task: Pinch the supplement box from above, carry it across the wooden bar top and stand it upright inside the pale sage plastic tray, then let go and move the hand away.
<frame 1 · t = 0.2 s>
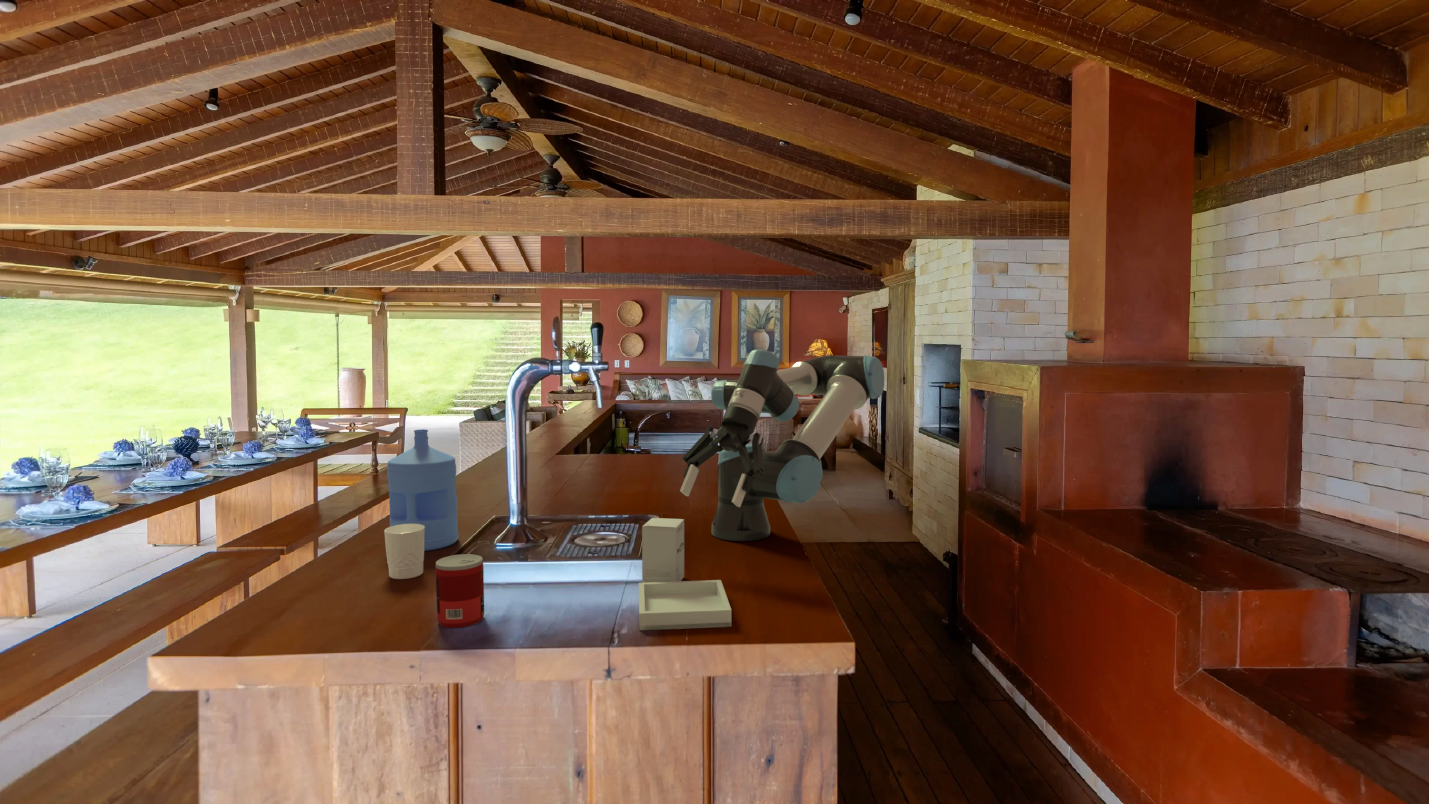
hand: (709, 499, 156), 16 cm above the table, tool tilted 35°, fingers open, 13 cm apart
water jug: (424, 544, 179), on the table
canned food: (461, 621, 130), on the table
sage tray: (682, 611, 134), on the table
white cup: (406, 575, 156), on the table
supplement box: (663, 582, 151), on the table
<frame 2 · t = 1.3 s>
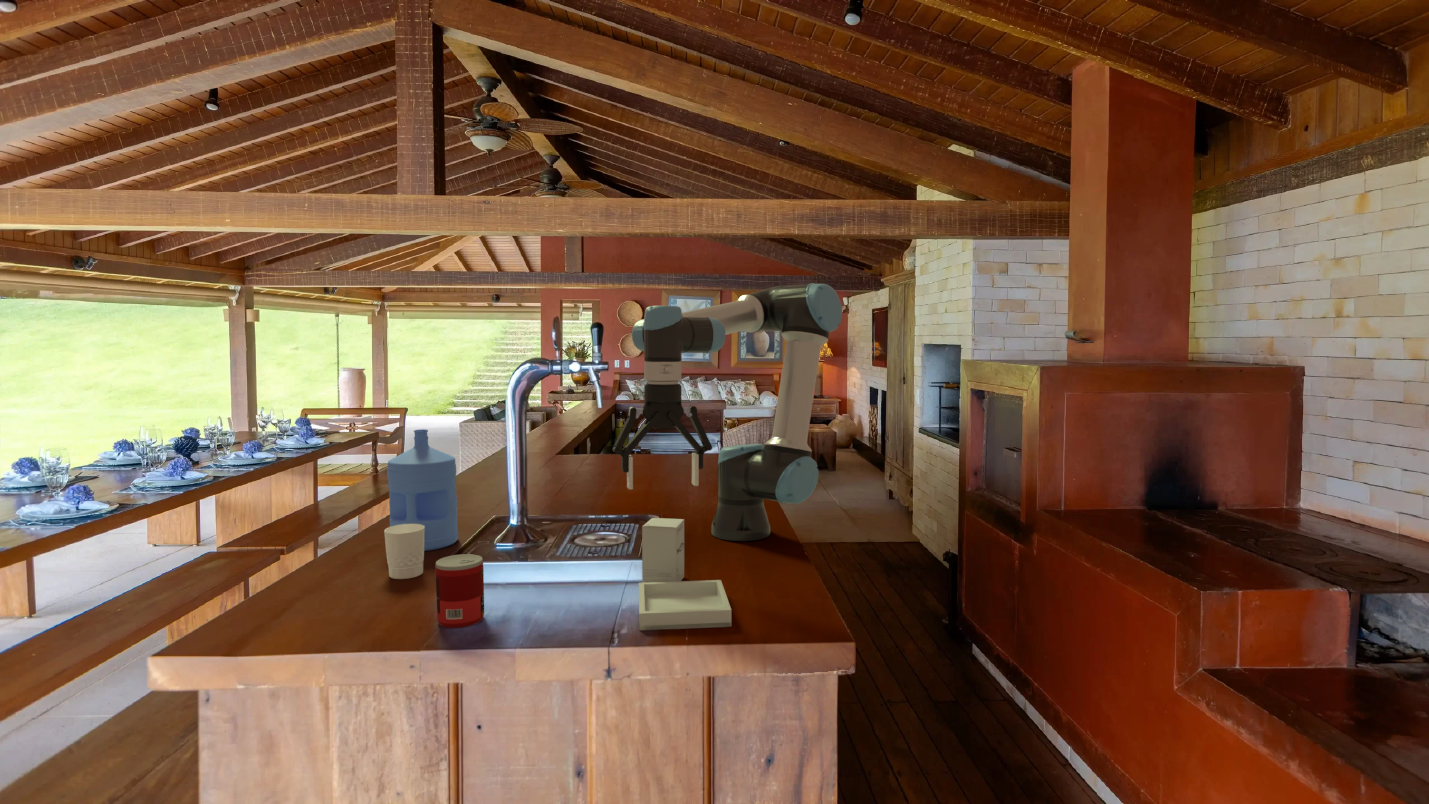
hand: (662, 486, 149), 20 cm above the table, tool pointing down, fingers open, 13 cm apart
nothing on the table moved.
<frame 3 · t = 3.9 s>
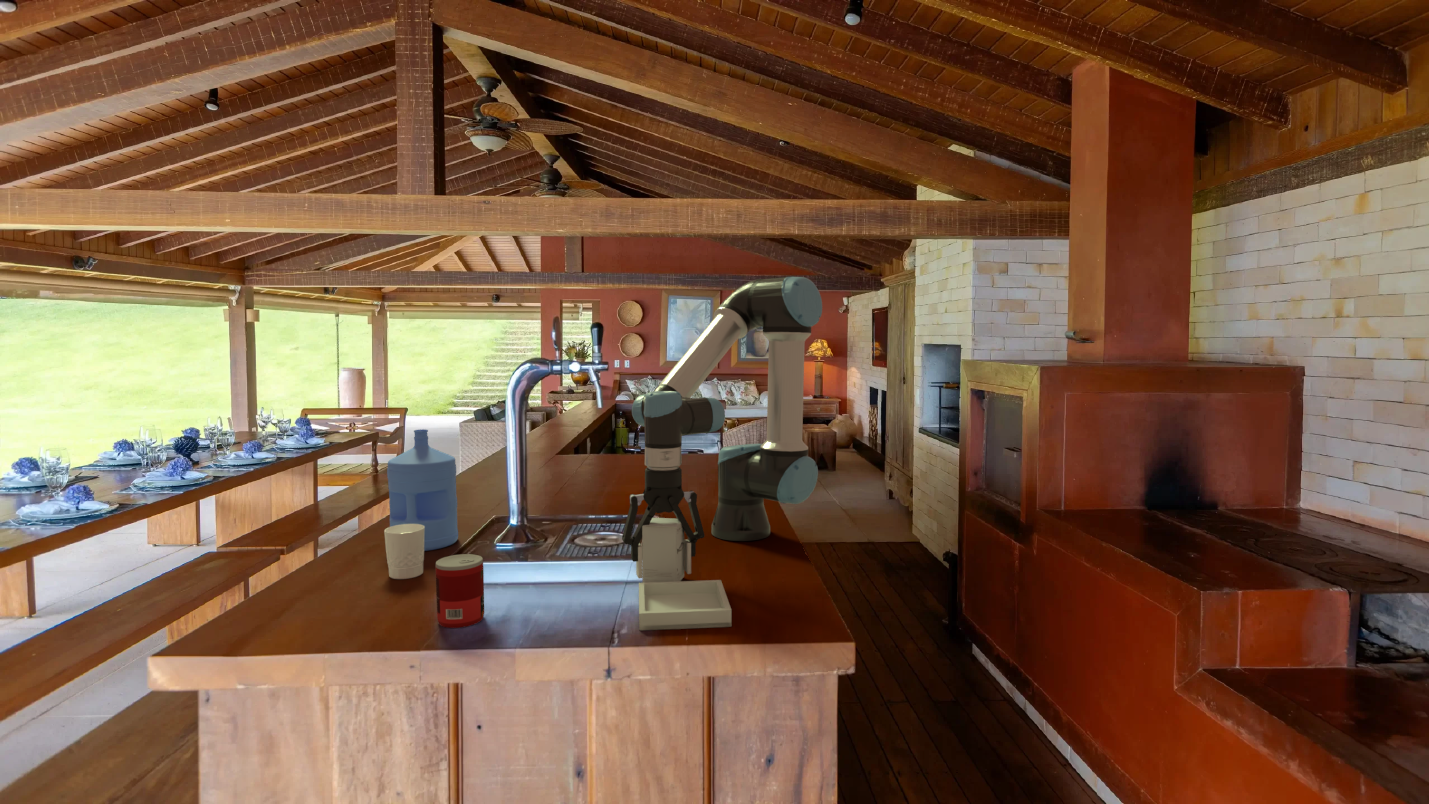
hand: (663, 574, 151), 2 cm above the table, tool pointing down, fingers closed on supplement box, 9 cm apart
supplement box: (663, 582, 151), on the table, touching gripper
everything else where it was.
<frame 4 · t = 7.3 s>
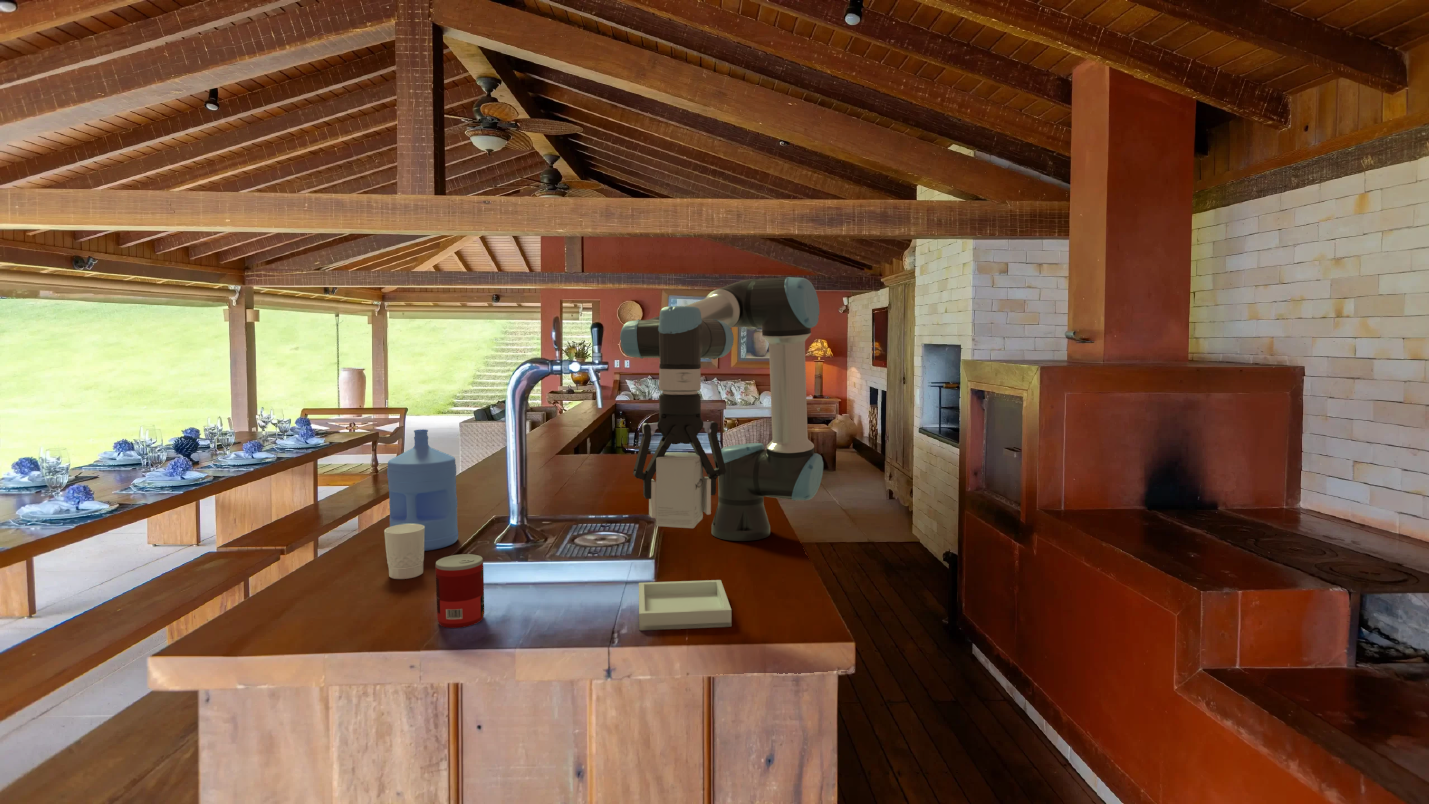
hand: (679, 514, 134), 18 cm above the table, tool pointing down, fingers closed on supplement box, 9 cm apart
supplement box: (680, 524, 134), point 16 cm above the table, touching gripper
everything else where it was.
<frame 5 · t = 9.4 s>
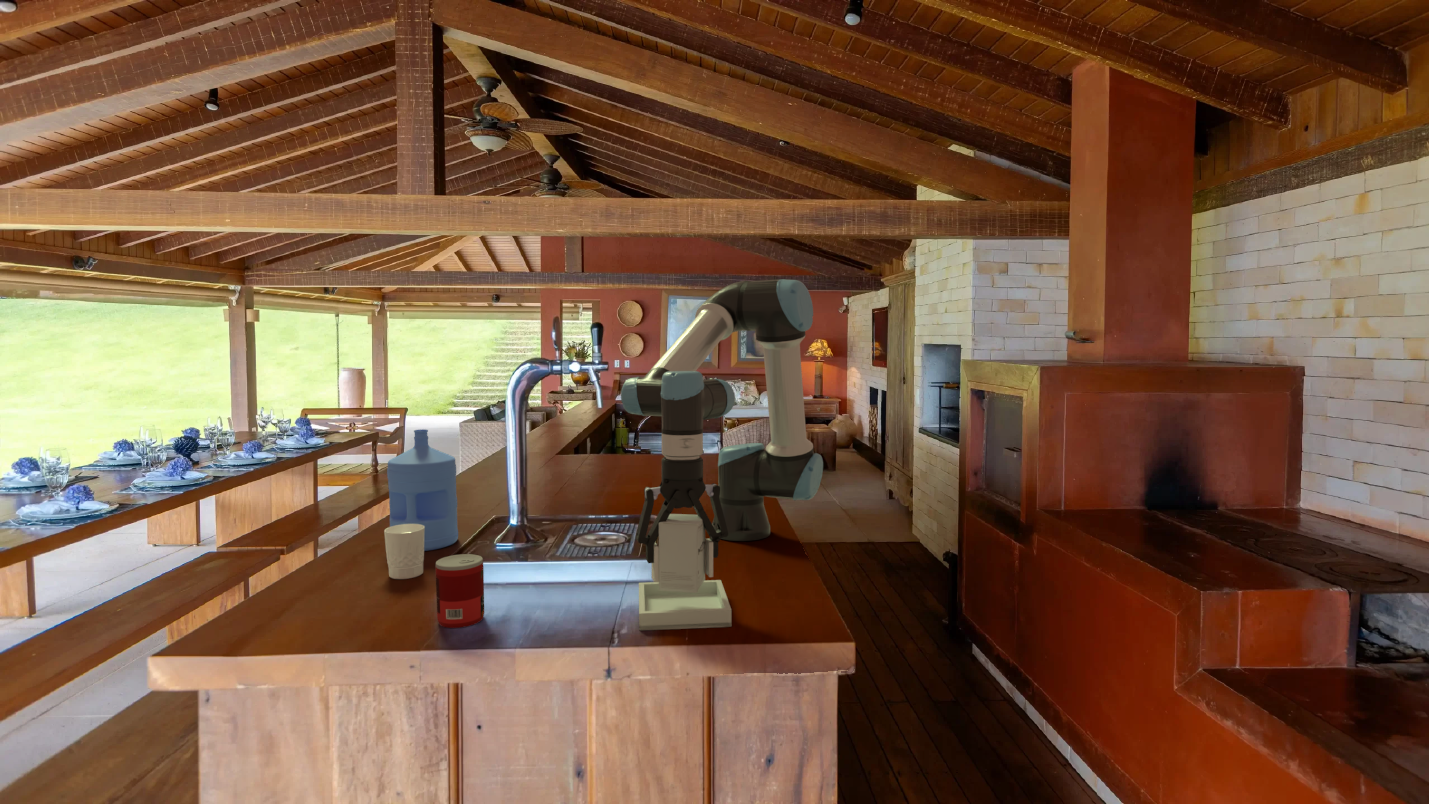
hand: (682, 577, 134), 6 cm above the table, tool pointing down, fingers closed on supplement box, 9 cm apart
supplement box: (682, 586, 134), point 5 cm above the table, touching gripper
everything else where it was.
when the fingers open (4 cm above the table, at t = 10.9 s): supplement box drops 2 cm, resting on sage tray.
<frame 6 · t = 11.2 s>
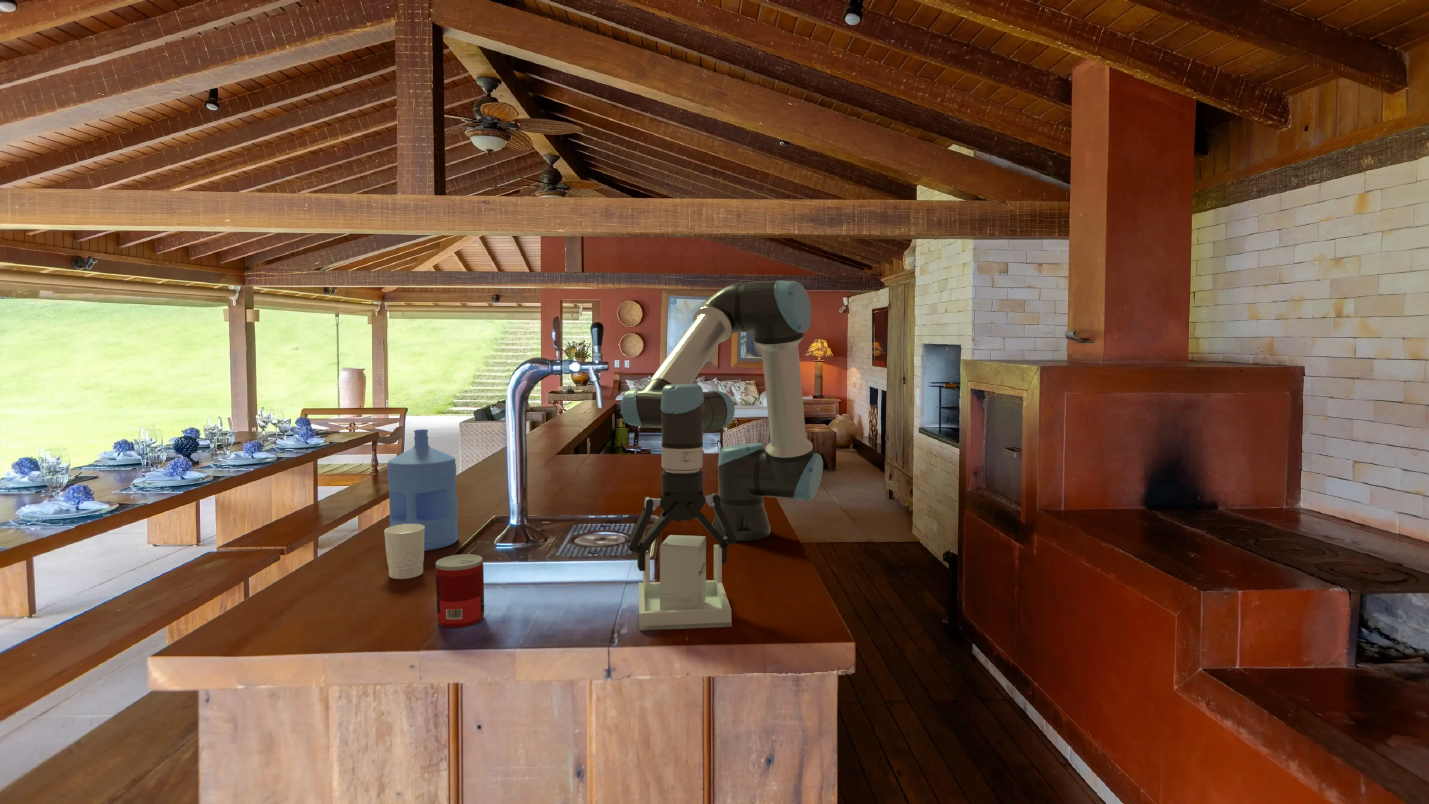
hand: (682, 584, 134), 5 cm above the table, tool pointing down, fingers open, 13 cm apart
supplement box: (683, 608, 134), point 1 cm above the table, touching sage tray
everything else where it was.
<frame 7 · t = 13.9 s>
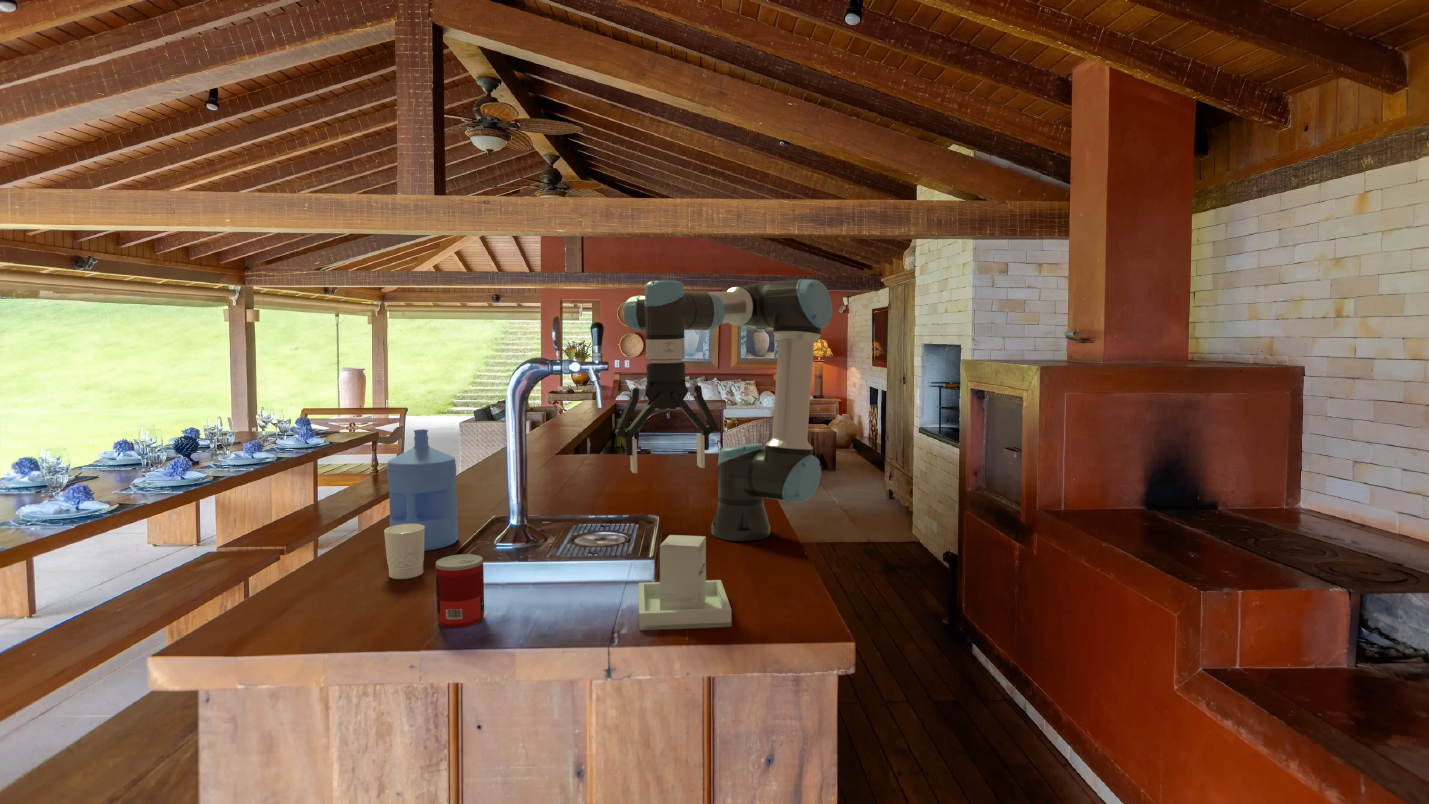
hand: (668, 469, 144), 24 cm above the table, tool pointing down, fingers open, 13 cm apart
nothing on the table moved.
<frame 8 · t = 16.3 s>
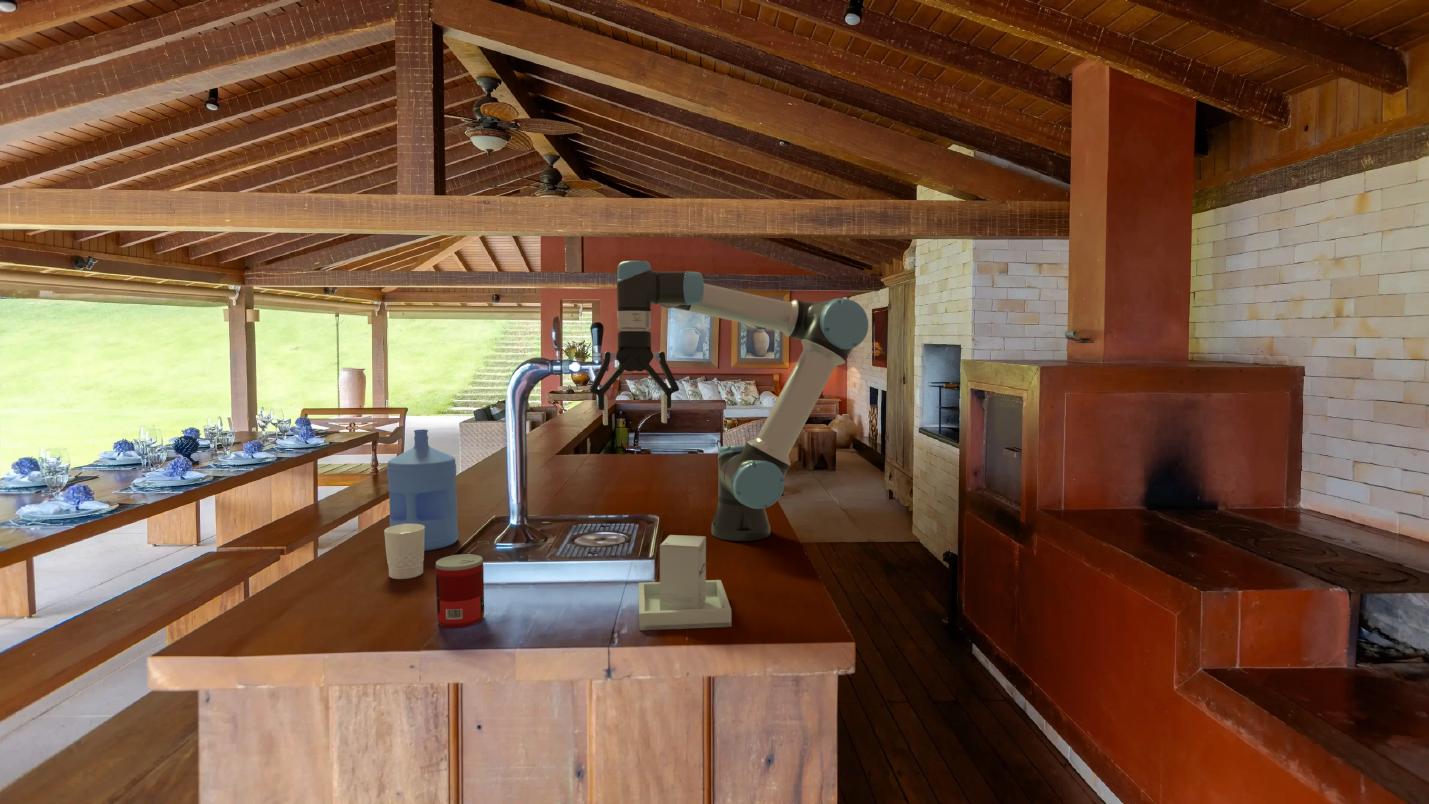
hand: (635, 423, 167), 31 cm above the table, tool pointing down, fingers open, 13 cm apart
nothing on the table moved.
at the end: supplement box inside the target area on the sage tray (0.2 cm from its centre), point 0.6 cm above the sage tray's base; supplement box tilted 0°; the gripper is holding nothing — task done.
